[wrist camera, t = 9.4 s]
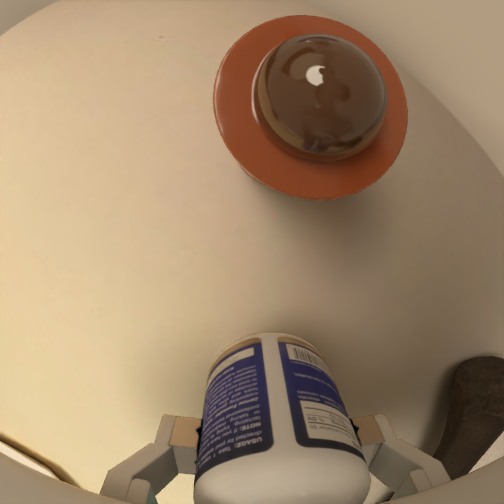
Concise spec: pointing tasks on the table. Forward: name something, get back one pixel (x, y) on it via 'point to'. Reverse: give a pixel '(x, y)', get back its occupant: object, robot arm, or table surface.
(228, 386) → the pill bottle
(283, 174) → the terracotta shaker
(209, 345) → the table surface
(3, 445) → the plate
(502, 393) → the dark brown bone
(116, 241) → the table surface
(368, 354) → the table surface
